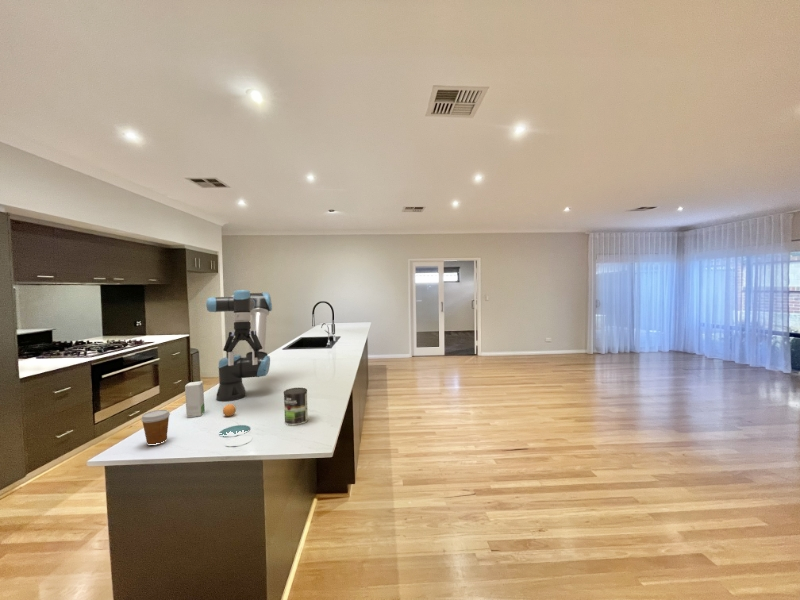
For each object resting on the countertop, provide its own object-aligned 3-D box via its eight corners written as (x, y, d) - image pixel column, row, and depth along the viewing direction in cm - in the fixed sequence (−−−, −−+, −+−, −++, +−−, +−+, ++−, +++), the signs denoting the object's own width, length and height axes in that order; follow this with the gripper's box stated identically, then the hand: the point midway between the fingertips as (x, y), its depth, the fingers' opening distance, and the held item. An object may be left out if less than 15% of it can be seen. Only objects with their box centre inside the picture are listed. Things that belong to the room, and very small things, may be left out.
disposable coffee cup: (146, 440, 139) (144, 411, 139) (173, 435, 143) (172, 407, 142) (138, 450, 130) (137, 419, 130) (168, 445, 134) (167, 415, 134)
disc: (229, 425, 152) (229, 425, 152) (255, 425, 152) (255, 425, 152) (212, 437, 140) (212, 436, 140) (241, 437, 140) (241, 436, 140)
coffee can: (299, 426, 149) (297, 394, 149) (279, 424, 153) (278, 393, 152) (312, 418, 159) (311, 388, 158) (294, 415, 162) (293, 386, 162)
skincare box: (200, 416, 165) (199, 384, 164) (185, 418, 163) (183, 386, 162) (205, 410, 173) (203, 380, 172) (190, 412, 171) (188, 381, 170)
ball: (227, 413, 167) (226, 402, 167) (238, 413, 167) (237, 402, 167) (220, 417, 162) (220, 406, 162) (231, 417, 162) (231, 406, 162)
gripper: (215, 322, 167) (215, 366, 165) (259, 320, 161) (260, 365, 159) (226, 322, 174) (226, 364, 173) (269, 320, 168) (270, 363, 167)
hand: (242, 365), depth 166 cm, fingers open, 13 cm apart
